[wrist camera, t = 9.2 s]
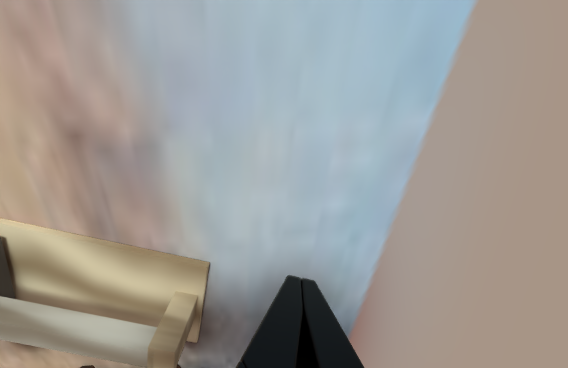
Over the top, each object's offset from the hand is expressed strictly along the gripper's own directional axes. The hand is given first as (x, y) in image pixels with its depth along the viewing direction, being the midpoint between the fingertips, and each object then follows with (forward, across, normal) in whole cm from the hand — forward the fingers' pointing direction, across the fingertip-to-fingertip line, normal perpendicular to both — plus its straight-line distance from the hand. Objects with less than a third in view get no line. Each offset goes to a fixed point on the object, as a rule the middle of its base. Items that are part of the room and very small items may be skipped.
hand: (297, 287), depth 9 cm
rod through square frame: (+13, +18, +17) cm, 28 cm away
